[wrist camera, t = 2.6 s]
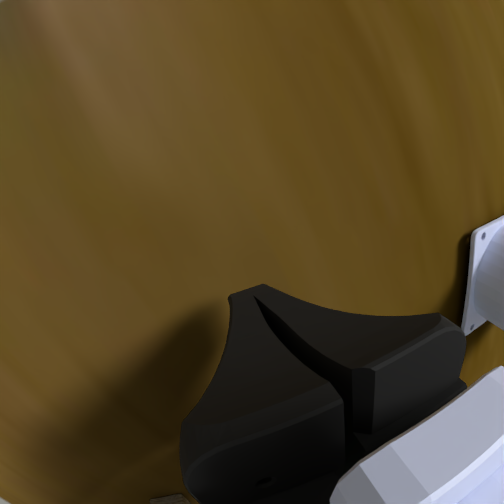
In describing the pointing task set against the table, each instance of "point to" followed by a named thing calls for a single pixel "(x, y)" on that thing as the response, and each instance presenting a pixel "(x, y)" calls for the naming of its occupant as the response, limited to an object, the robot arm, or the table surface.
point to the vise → (170, 500)
